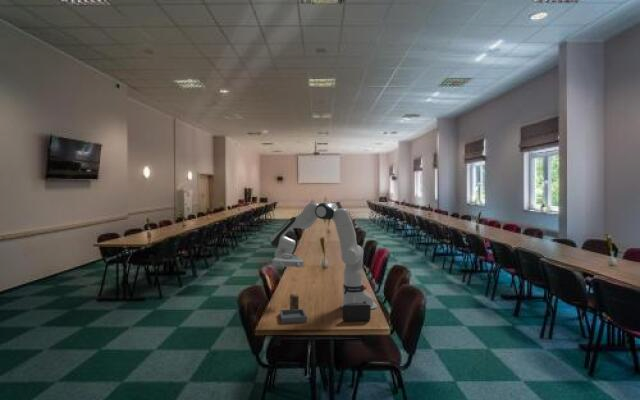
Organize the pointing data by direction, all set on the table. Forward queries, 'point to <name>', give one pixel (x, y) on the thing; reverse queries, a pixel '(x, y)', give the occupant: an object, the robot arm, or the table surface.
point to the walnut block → (294, 301)
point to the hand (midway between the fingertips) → (291, 266)
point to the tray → (293, 316)
